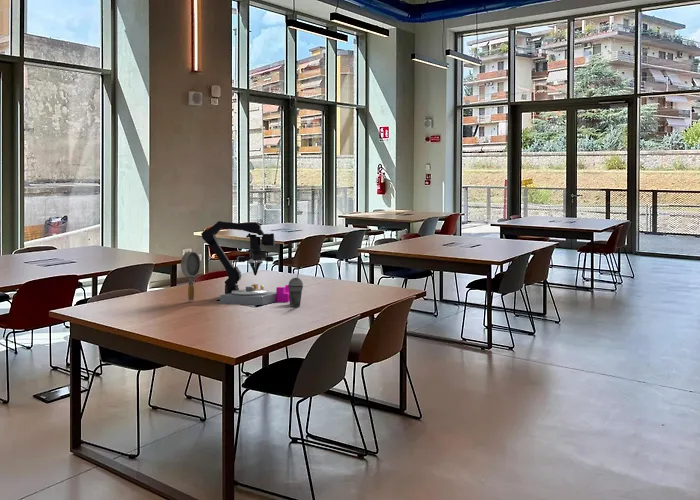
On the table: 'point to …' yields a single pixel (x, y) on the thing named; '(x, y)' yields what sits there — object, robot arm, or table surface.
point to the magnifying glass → (190, 270)
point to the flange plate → (250, 291)
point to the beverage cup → (295, 291)
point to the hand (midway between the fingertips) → (255, 275)
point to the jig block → (248, 299)
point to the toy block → (282, 294)
